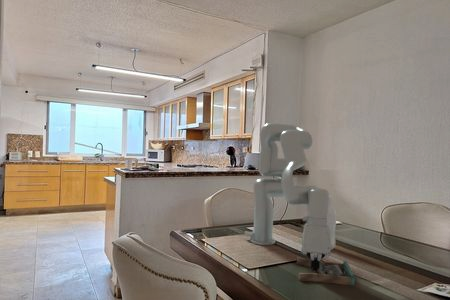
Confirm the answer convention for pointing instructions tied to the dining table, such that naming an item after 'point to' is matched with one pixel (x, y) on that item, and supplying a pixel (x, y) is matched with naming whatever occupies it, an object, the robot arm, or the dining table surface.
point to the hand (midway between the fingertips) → (314, 270)
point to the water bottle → (332, 220)
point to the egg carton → (330, 269)
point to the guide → (325, 277)
